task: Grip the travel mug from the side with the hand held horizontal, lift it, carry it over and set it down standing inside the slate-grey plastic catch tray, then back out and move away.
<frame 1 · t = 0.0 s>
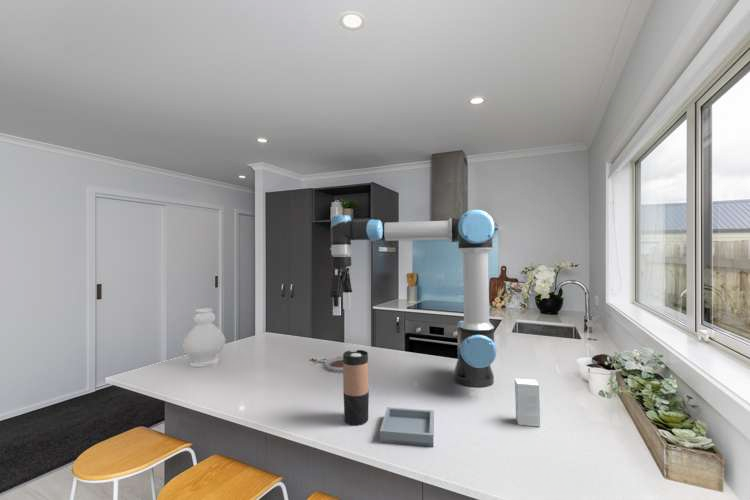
hand: (342, 312, 129), 28 cm above the countertop, tool pointing down, fingers open, 13 cm apart
travel mug: (356, 420, 102), on the countertop
skincare box: (527, 423, 99), on the countertop
catch tray: (408, 430, 96), on the countertop
decorative vase: (204, 363, 159), on the countertop
frying pan: (333, 366, 154), on the countertop
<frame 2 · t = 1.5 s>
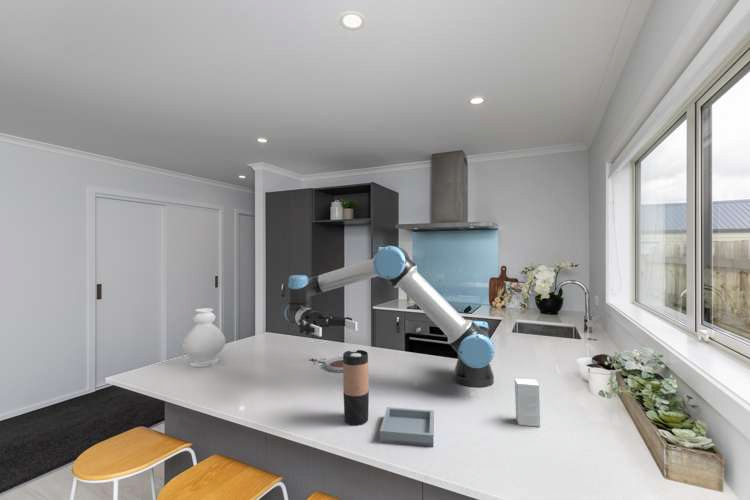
hand: (339, 329, 110), 26 cm above the countertop, tool horizontal, fingers open, 13 cm apart
nothing on the countertop moved.
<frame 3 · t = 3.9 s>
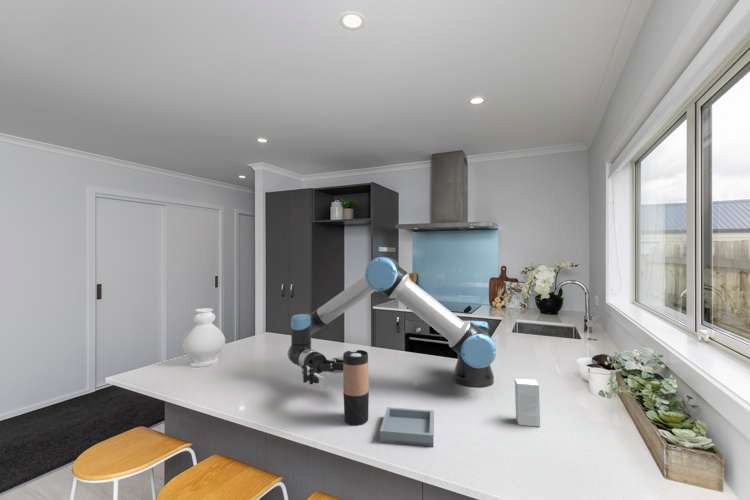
hand: (344, 378, 107), 11 cm above the countertop, tool horizontal, fingers open, 13 cm apart
nothing on the countertop moved.
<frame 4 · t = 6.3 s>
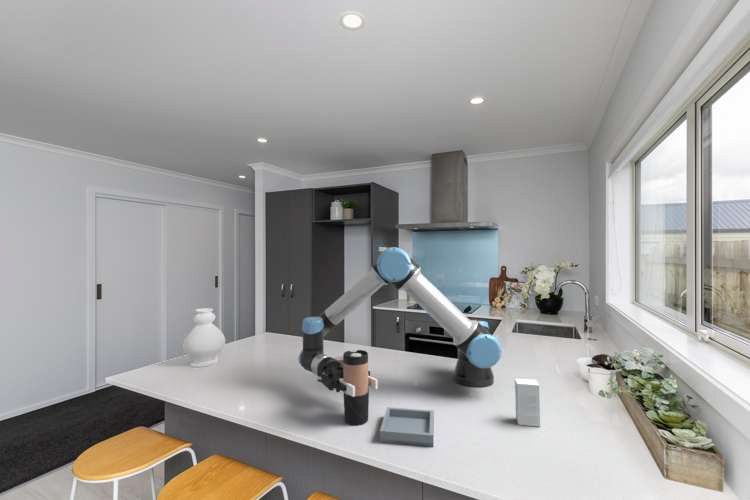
hand: (365, 388, 99), 11 cm above the countertop, tool horizontal, fingers closed on travel mug, 7 cm apart
travel mug: (356, 420, 102), on the countertop, touching gripper
everything else where it was.
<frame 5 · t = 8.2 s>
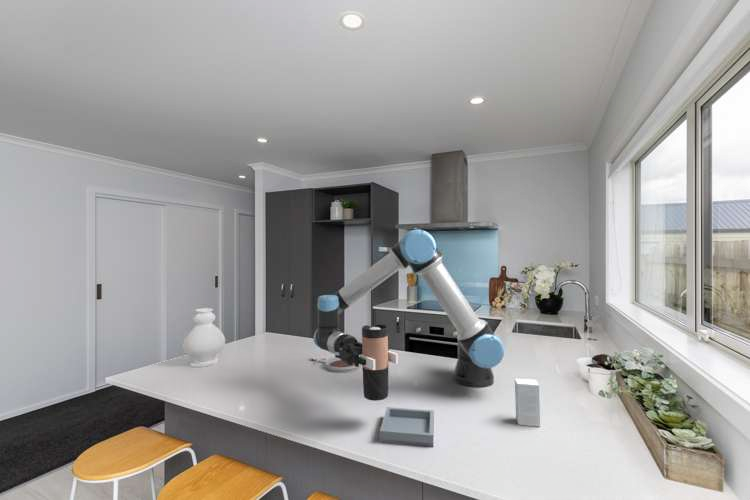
hand: (385, 361, 95), 20 cm above the countertop, tool horizontal, fingers closed on travel mug, 7 cm apart
travel mug: (375, 396, 99), point 8 cm above the countertop, touching gripper
everything else where it was.
when the fingers open (13 cm above the countertop, at t = 10.5 s): travel mug drops 1 cm, resting on catch tray.
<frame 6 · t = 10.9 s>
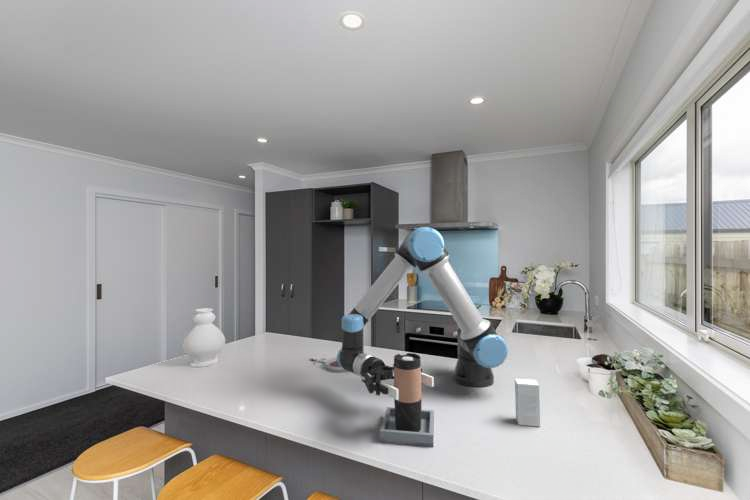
hand: (416, 388, 93), 13 cm above the countertop, tool horizontal, fingers open, 13 cm apart
travel mug: (408, 428, 96), point 1 cm above the countertop, touching catch tray
everything else where it was.
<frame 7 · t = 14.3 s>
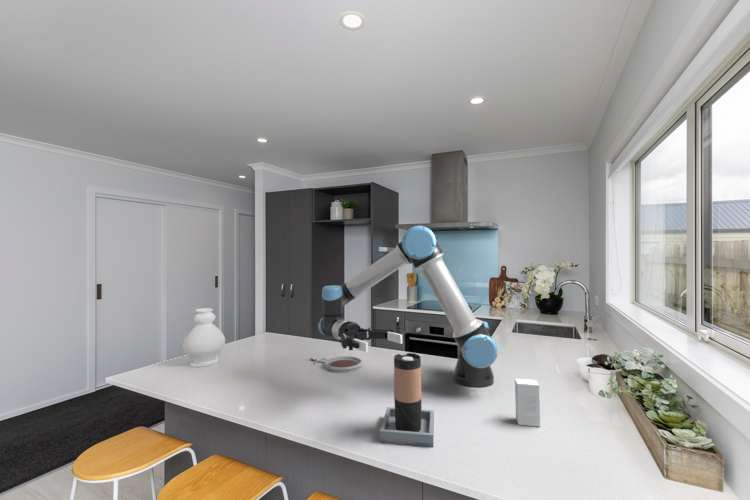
hand: (385, 343, 104), 23 cm above the countertop, tool horizontal, fingers open, 13 cm apart
nothing on the countertop moved.
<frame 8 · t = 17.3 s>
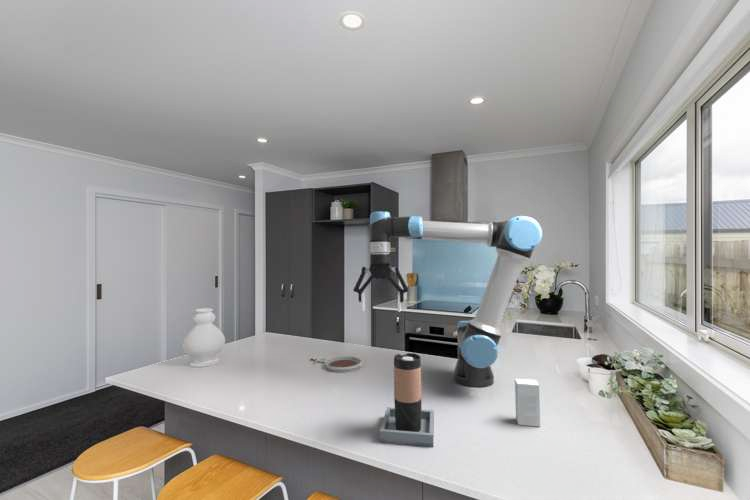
hand: (381, 311, 126), 29 cm above the countertop, tool pointing down, fingers open, 13 cm apart
nothing on the countertop moved.
at the end: travel mug inside the target area on the catch tray (0.0 cm from its centre), point 0.6 cm above the catch tray's base; travel mug tilted 0°; the gripper is holding nothing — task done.
